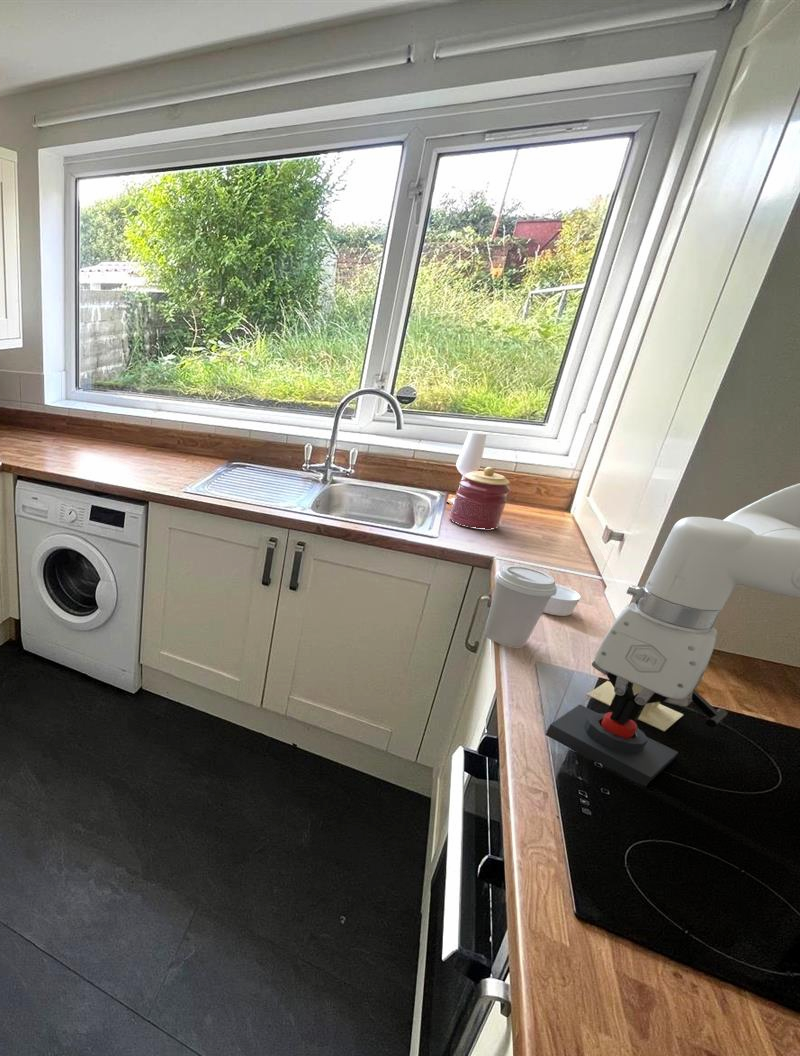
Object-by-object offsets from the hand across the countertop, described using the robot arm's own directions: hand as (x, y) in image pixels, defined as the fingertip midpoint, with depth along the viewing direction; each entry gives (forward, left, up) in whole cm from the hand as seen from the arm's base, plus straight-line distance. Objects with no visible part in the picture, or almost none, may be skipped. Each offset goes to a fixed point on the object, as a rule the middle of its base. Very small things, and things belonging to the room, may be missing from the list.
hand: (620, 718), depth 84 cm
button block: (0, 0, -6) cm, 6 cm away
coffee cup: (+23, -18, -6) cm, 30 cm away
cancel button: (0, 0, -2) cm, 2 cm away
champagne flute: (+76, -99, -6) cm, 125 cm away
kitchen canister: (+63, -84, -6) cm, 105 cm away
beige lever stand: (+2, -15, -6) cm, 16 cm away
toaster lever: (-1, -15, +1) cm, 15 cm away
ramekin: (+26, -43, -6) cm, 51 cm away
